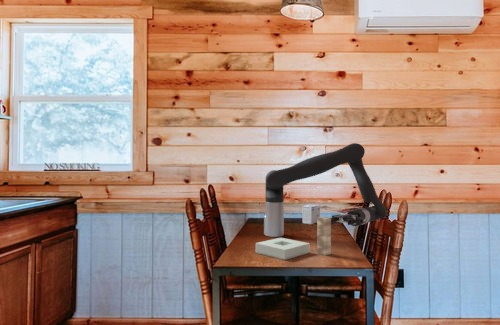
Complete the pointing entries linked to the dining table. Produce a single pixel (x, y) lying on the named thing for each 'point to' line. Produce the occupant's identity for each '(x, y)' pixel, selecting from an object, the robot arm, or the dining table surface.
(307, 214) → the light bulb box
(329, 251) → the peg
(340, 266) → the dining table surface
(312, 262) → the dining table surface
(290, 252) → the socket block
